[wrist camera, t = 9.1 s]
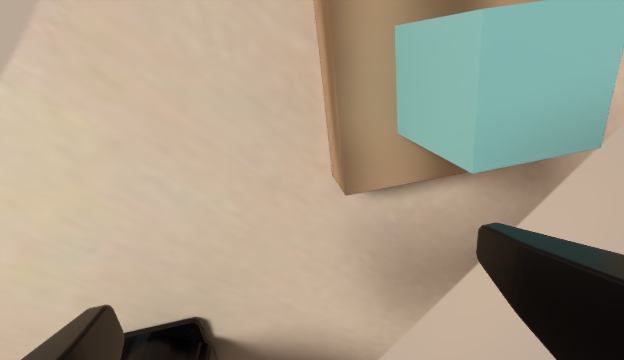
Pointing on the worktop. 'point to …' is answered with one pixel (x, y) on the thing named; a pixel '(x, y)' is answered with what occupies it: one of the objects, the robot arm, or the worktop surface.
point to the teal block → (509, 81)
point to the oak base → (375, 90)
